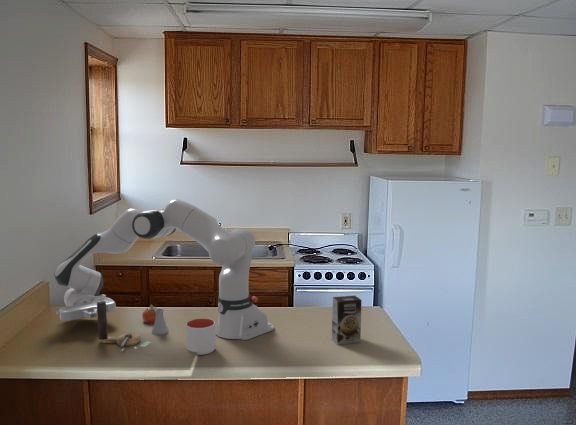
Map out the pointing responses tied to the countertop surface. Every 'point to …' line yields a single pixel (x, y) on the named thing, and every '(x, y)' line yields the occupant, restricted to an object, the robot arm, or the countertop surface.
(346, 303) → the coffee box
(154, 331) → the flask
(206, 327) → the cup
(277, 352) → the countertop surface
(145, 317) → the tomato
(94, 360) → the countertop surface
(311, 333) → the countertop surface
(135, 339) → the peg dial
